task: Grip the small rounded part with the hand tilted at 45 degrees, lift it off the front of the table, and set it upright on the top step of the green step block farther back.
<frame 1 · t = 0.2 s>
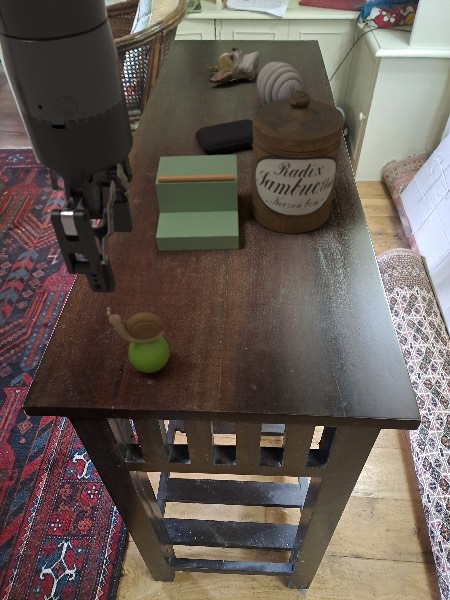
hand: (114, 258, 45), 22 cm above the table, tool pointing down, fingers open, 8 cm apart
green step block: (199, 225, 84), on the table
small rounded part: (148, 365, 63), on the table
wooden container: (290, 210, 87), on the table
carrying case: (230, 144, 105), on the table
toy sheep: (277, 111, 115), on the table
ceramic sculpture: (233, 81, 129), on the table
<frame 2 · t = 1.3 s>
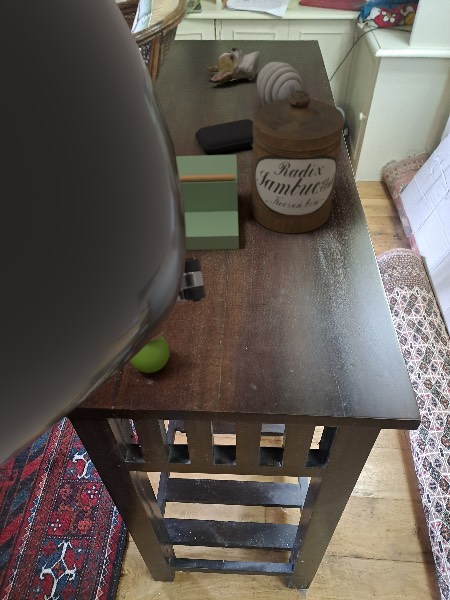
hand: (113, 297, 37), 25 cm above the table, tool tilted 45°, fingers open, 8 cm apart
nothing on the table moved.
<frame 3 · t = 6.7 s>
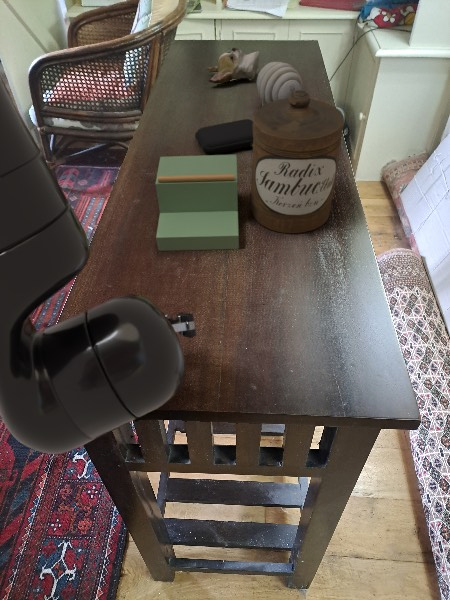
hand: (140, 327, 60), 6 cm above the table, tool tilted 45°, fingers closed on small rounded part, 6 cm apart
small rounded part: (148, 365, 63), on the table, touching gripper
everything else where it was.
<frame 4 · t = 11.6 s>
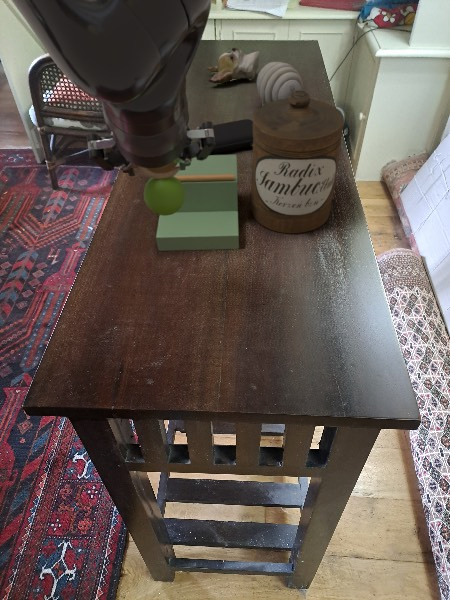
hand: (156, 165, 59), 21 cm above the table, tool tilted 45°, fingers closed on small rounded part, 6 cm apart
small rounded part: (163, 213, 62), point 15 cm above the table, touching gripper
everything else where it was.
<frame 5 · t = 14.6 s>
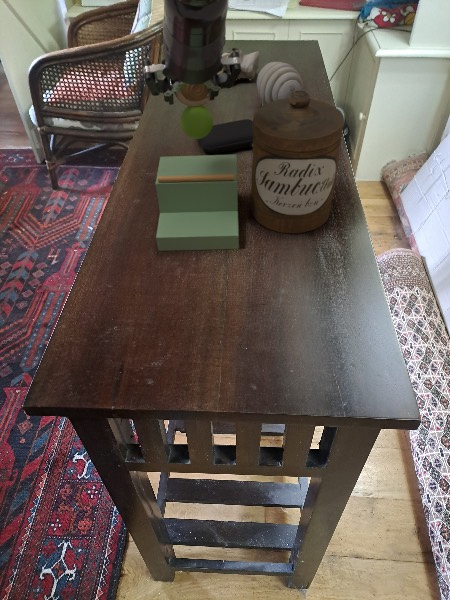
hand: (190, 96, 73), 21 cm above the table, tool tilted 45°, fingers closed on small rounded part, 6 cm apart
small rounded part: (195, 138, 77), point 15 cm above the table, touching gripper
everything else where it was.
when the fingers open (15 cm above the table, at t = 16.8 s): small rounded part stays where it is, resting on green step block.
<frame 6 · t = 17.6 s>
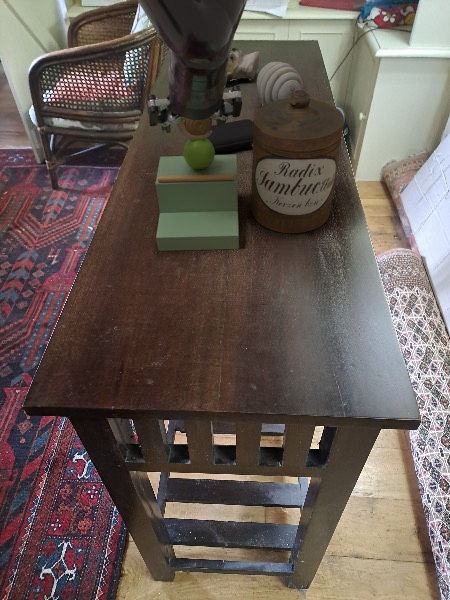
hand: (192, 124, 76), 16 cm above the table, tool tilted 45°, fingers open, 8 cm apart
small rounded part: (197, 168, 81), point 9 cm above the table, touching green step block
everything else where it was.
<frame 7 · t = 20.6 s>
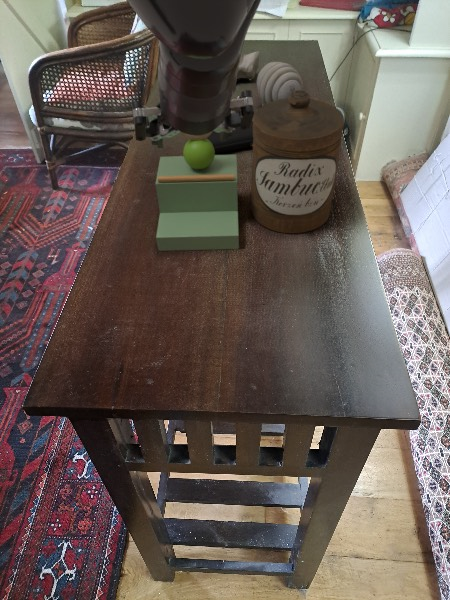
hand: (190, 137, 62), 22 cm above the table, tool tilted 45°, fingers open, 8 cm apart
nothing on the table moved.
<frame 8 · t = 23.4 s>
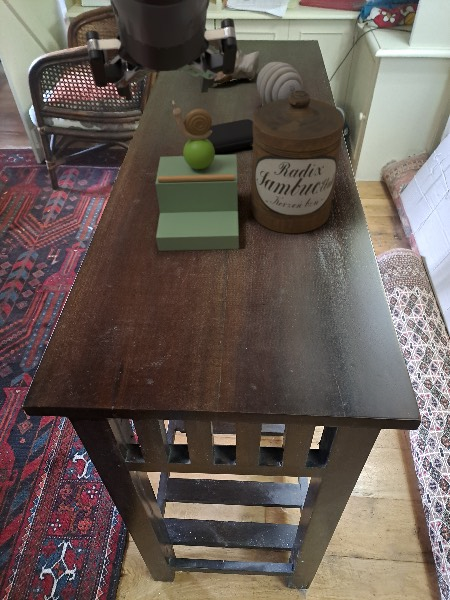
hand: (165, 88, 52), 31 cm above the table, tool tilted 45°, fingers open, 8 cm apart
nothing on the table moved.
at the end: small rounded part inside the target area on the green step block (0.2 cm from its centre), point 8.8 cm above the green step block's base; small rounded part tilted 0°; the gripper is holding nothing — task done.
